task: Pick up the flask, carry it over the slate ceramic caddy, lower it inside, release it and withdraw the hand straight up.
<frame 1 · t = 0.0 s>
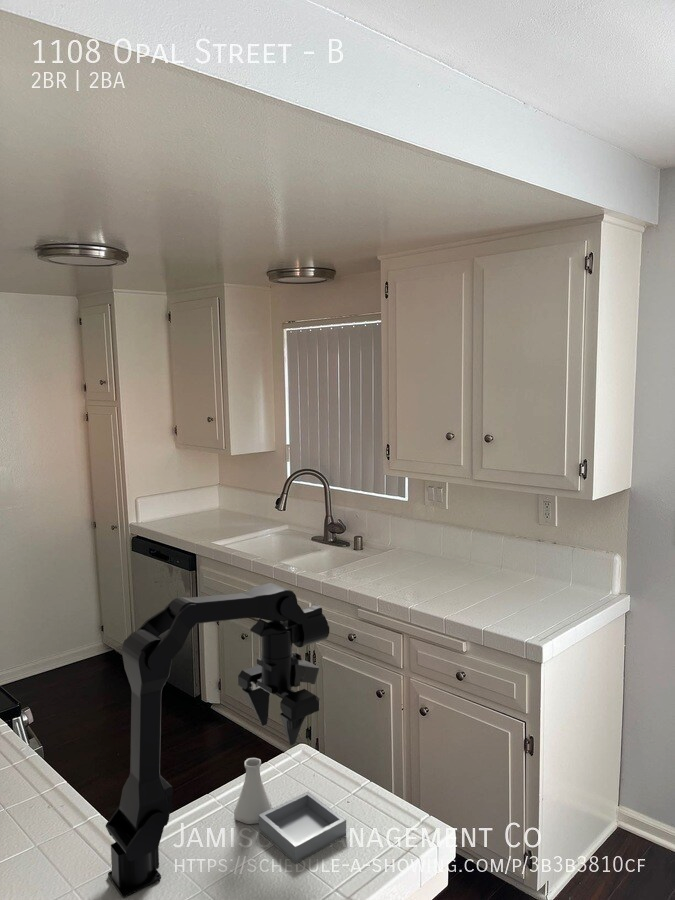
hand: (277, 734, 127), 15 cm above the counter, fingers open, 9 cm apart
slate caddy: (302, 833, 122), on the counter
flask: (253, 814, 127), on the counter
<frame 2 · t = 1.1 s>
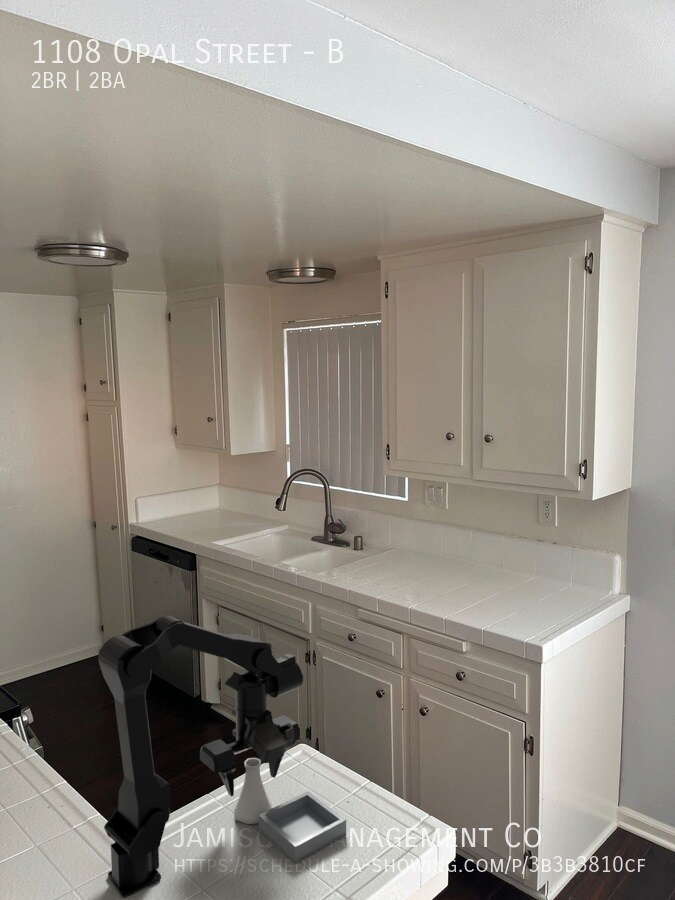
hand: (252, 785, 127), 5 cm above the counter, fingers open, 9 cm apart
nothing on the counter moved.
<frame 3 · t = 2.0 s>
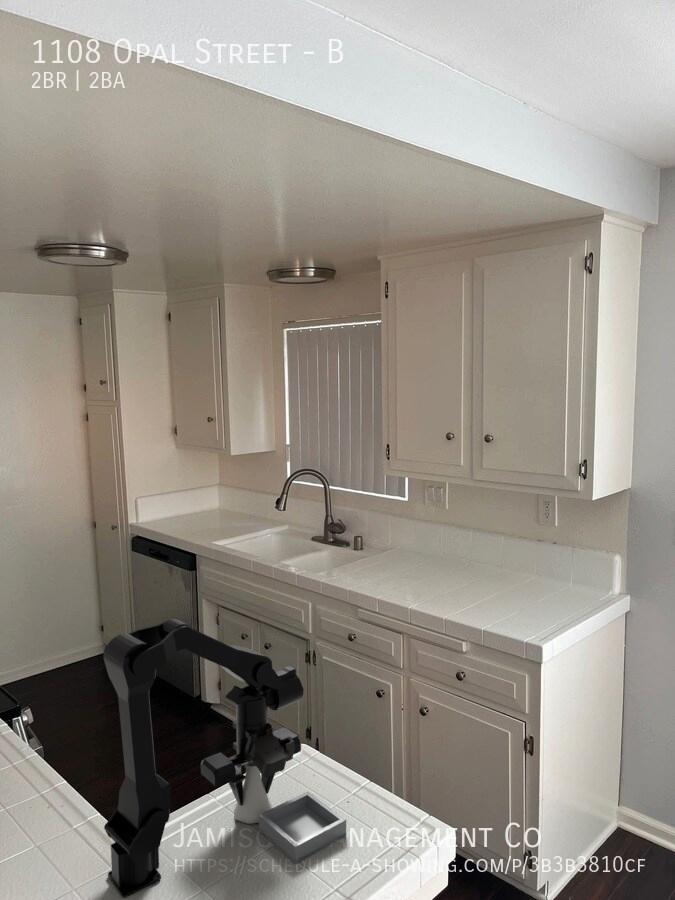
hand: (253, 798, 127), 3 cm above the counter, fingers closed on flask, 5 cm apart
flask: (253, 814, 127), on the counter, touching gripper
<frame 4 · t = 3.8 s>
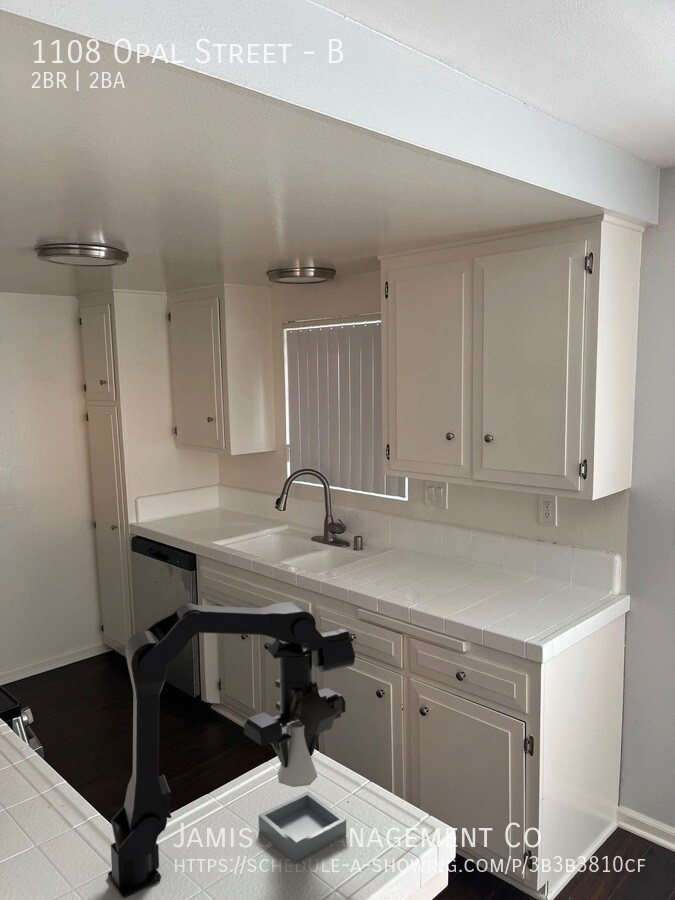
hand: (297, 760, 121), 13 cm above the counter, fingers closed on flask, 5 cm apart
flask: (297, 777, 122), point 10 cm above the counter, touching gripper
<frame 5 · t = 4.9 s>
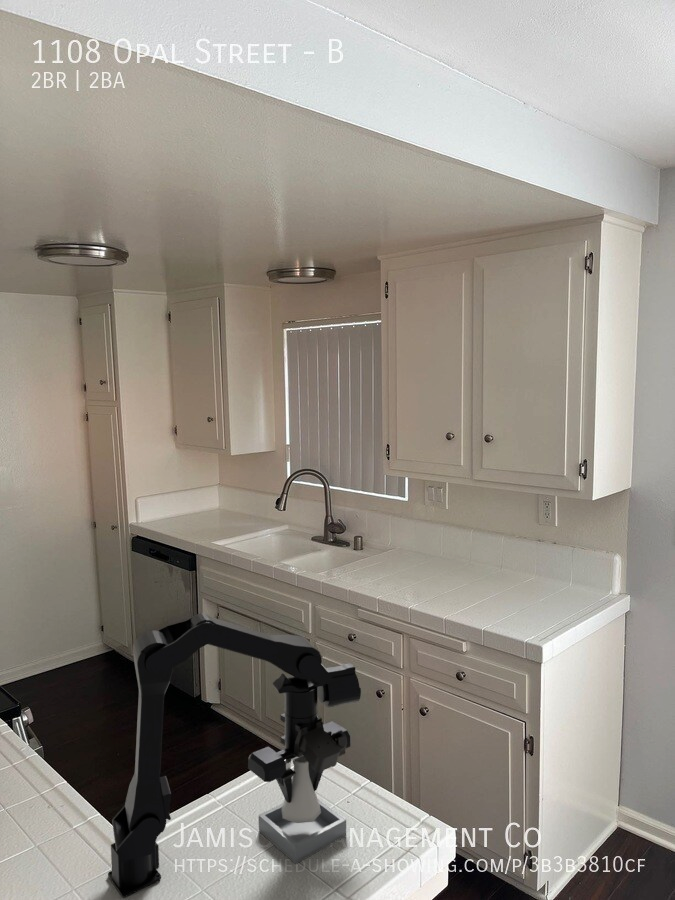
hand: (301, 795, 121), 7 cm above the counter, fingers closed on flask, 5 cm apart
flask: (301, 813, 121), point 4 cm above the counter, touching gripper
when the fingers open (5 cm above the counter, at t = 5.7 s): flask drops 1 cm, resting on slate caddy.
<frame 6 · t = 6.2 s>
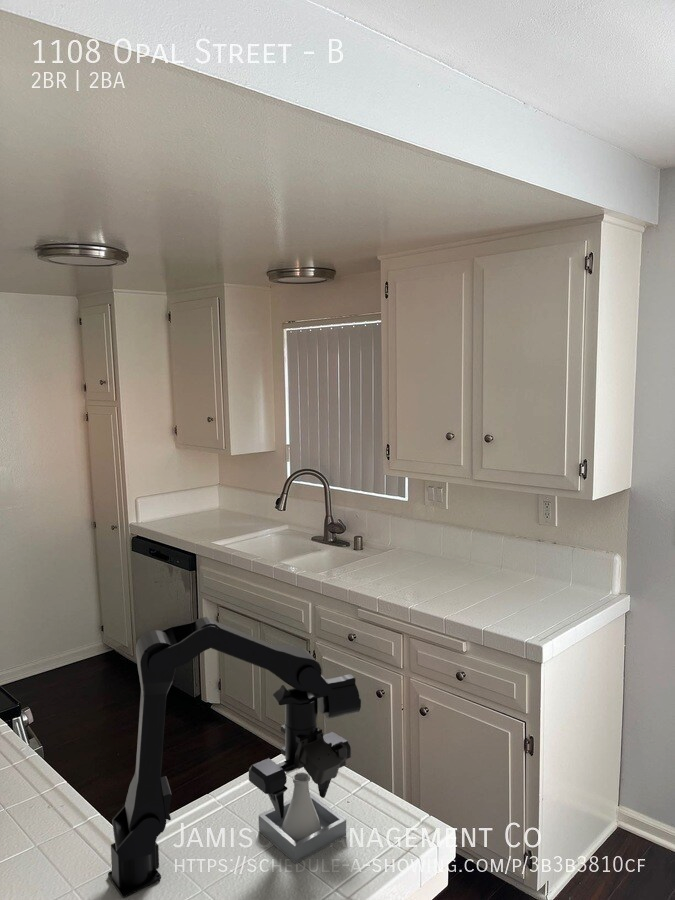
hand: (301, 806, 121), 5 cm above the counter, fingers open, 9 cm apart
flask: (301, 831, 122), resting on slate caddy
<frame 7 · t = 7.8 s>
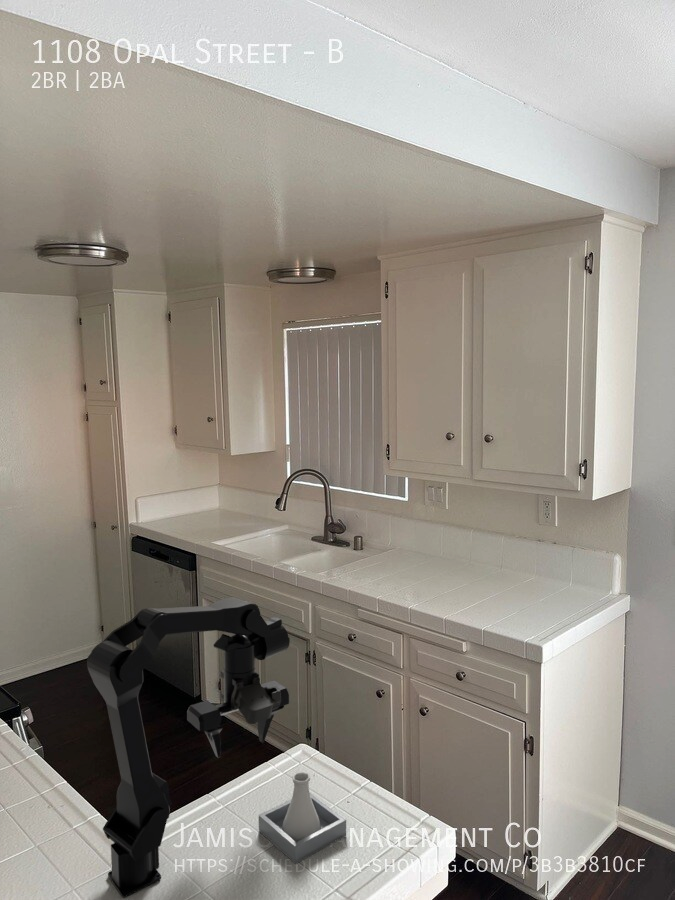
hand: (240, 749, 127), 12 cm above the counter, fingers open, 9 cm apart
nothing on the counter moved.
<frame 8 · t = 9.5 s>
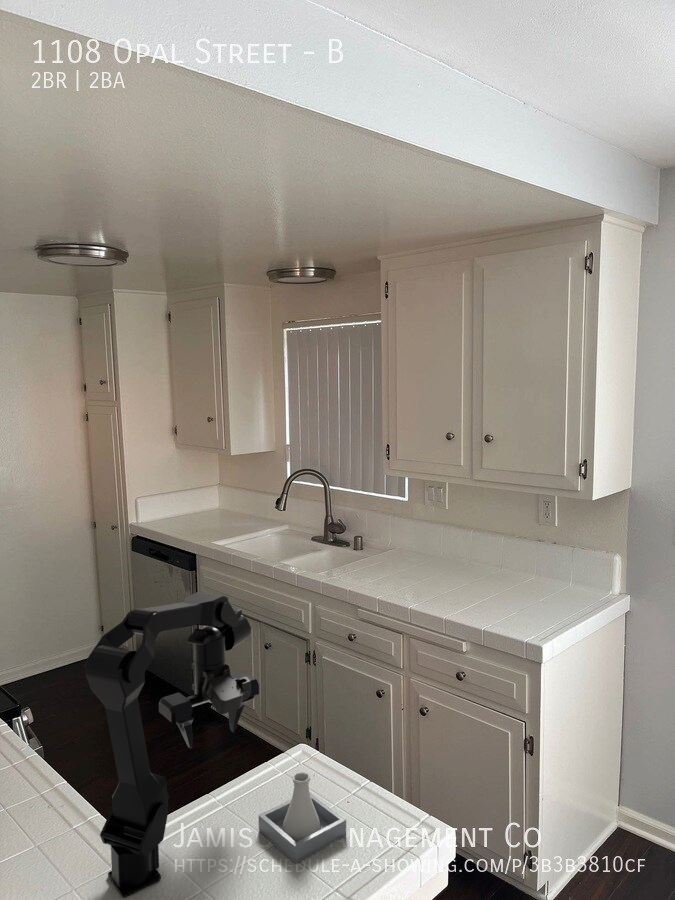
hand: (211, 739, 130), 12 cm above the counter, fingers open, 9 cm apart
nothing on the counter moved.
at the end: flask 0.1 cm off-centre on the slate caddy, point 0.4 cm above the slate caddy's base; flask tilted 0°; the gripper is holding nothing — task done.
